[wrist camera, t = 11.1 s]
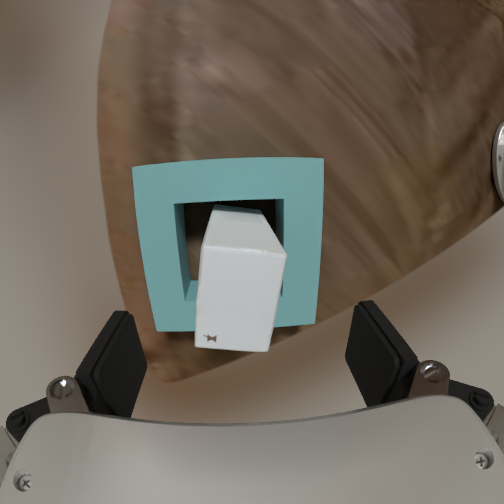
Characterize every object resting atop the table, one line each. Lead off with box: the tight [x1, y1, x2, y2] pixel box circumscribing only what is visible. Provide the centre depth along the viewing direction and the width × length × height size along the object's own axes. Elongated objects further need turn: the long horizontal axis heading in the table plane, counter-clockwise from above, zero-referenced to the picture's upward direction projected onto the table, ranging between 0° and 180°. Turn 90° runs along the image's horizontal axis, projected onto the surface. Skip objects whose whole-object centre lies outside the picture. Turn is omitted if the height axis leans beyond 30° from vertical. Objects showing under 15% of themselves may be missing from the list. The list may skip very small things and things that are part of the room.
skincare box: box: [195, 204, 287, 352], centre depth 19 cm, size 6×4×12 cm
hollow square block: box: [132, 157, 324, 331], centre depth 23 cm, size 14×14×4 cm
